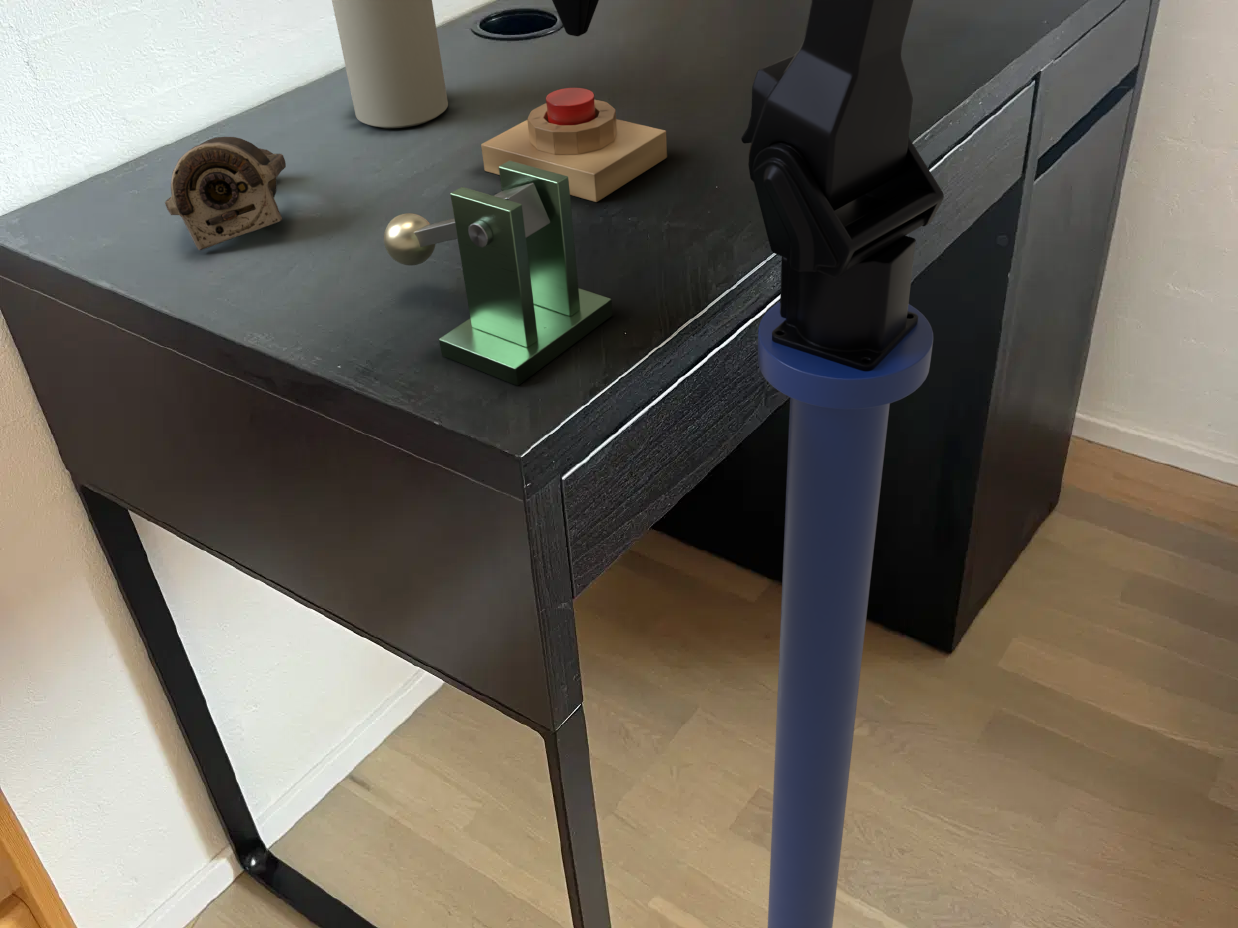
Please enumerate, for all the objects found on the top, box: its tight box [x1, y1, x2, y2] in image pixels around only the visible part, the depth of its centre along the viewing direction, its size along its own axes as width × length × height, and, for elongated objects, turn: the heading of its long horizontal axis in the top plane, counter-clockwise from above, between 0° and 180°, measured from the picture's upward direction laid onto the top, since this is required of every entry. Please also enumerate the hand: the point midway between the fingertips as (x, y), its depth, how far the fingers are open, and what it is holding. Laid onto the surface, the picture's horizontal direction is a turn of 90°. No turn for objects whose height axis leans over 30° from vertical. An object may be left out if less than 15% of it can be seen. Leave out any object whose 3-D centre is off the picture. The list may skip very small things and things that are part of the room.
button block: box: [480, 98, 668, 203], centre depth 87 cm, size 11×9×4 cm
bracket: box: [438, 161, 613, 387], centre depth 66 cm, size 6×9×10 cm, turn 143°
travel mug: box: [331, 0, 449, 129], centre depth 93 cm, size 8×8×18 cm
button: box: [545, 87, 596, 125], centre depth 85 cm, size 4×4×2 cm
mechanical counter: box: [164, 136, 287, 251], centre depth 82 cm, size 7×13×10 cm
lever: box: [383, 183, 550, 266], centre depth 68 cm, size 13×3×3 cm, turn 53°
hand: (576, 34), depth 73 cm, fingers closed
